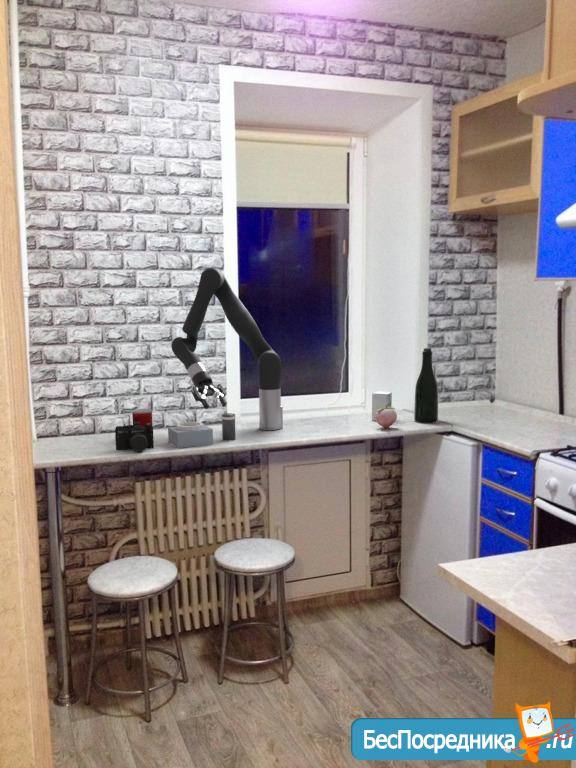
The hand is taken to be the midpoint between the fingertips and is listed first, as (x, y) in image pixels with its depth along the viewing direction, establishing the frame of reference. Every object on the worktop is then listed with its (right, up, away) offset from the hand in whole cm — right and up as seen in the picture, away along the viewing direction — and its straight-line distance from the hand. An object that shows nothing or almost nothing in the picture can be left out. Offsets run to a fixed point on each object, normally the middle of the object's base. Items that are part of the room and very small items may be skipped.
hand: (216, 406), depth 273 cm
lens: (+5, -13, -4) cm, 15 cm away
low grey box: (-9, -14, -11) cm, 20 cm away
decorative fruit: (+70, -10, +15) cm, 73 cm away
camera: (-28, -16, -23) cm, 39 cm away
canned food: (-30, -13, +1) cm, 33 cm away
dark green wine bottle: (+91, -8, +30) cm, 96 cm away
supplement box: (+72, -8, +35) cm, 80 cm away
